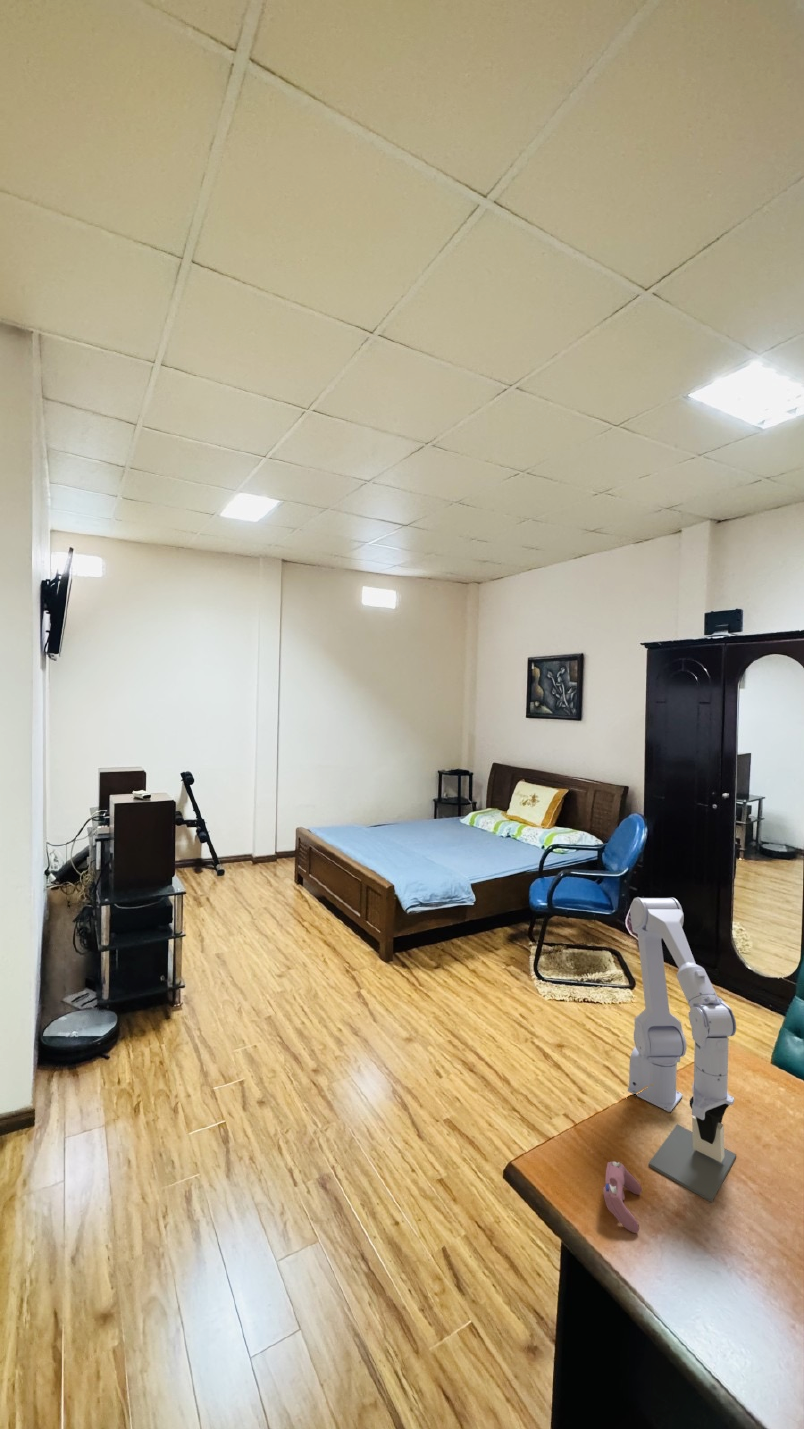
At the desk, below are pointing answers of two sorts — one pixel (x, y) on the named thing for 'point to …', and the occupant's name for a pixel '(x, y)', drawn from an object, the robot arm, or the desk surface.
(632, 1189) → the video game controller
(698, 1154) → the mat
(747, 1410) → the desk surface
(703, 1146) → the block
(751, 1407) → the desk surface
